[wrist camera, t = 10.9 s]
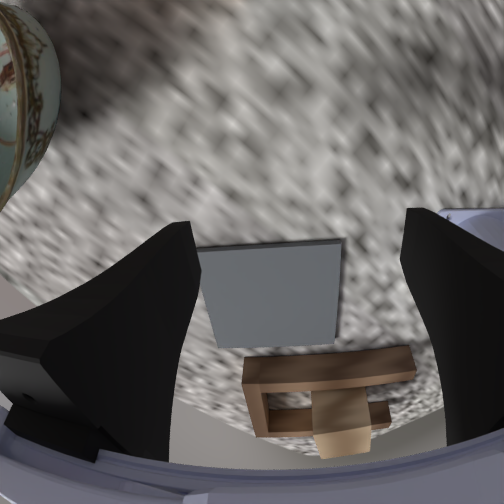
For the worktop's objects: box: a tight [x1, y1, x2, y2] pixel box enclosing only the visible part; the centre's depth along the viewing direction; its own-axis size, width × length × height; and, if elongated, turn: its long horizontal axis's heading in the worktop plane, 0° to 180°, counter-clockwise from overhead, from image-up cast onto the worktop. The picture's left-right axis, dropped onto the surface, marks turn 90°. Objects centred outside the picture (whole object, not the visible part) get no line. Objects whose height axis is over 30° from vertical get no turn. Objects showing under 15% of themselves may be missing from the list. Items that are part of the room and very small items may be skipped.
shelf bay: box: [242, 345, 417, 437], centre depth 30 cm, size 16×12×3 cm
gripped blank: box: [311, 386, 371, 459], centre depth 28 cm, size 5×7×7 cm
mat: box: [196, 240, 341, 348], centre depth 24 cm, size 10×10×1 cm
